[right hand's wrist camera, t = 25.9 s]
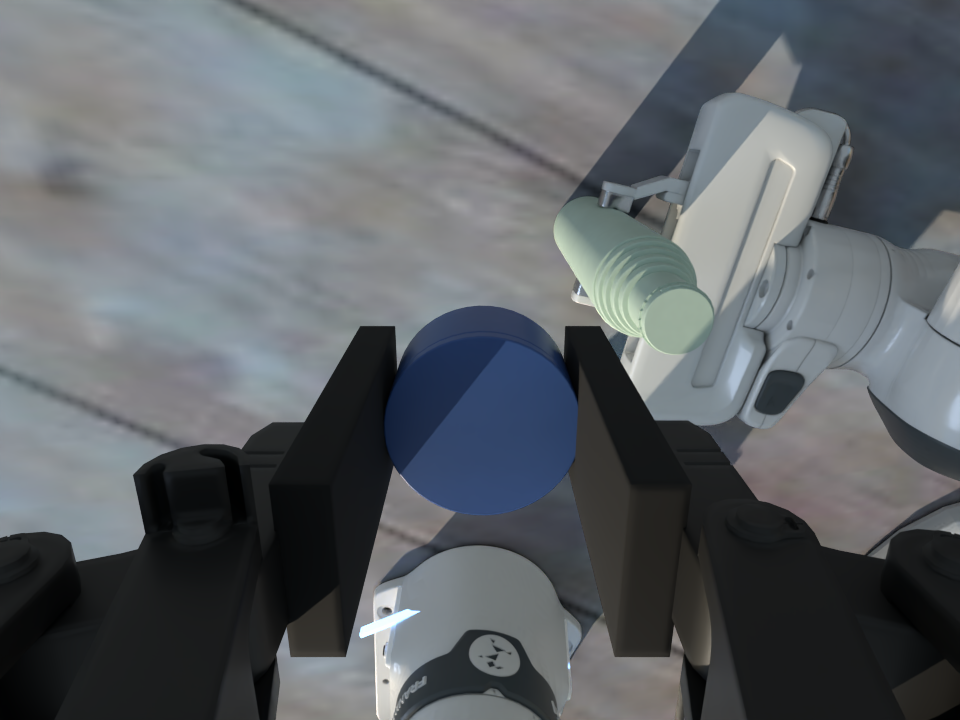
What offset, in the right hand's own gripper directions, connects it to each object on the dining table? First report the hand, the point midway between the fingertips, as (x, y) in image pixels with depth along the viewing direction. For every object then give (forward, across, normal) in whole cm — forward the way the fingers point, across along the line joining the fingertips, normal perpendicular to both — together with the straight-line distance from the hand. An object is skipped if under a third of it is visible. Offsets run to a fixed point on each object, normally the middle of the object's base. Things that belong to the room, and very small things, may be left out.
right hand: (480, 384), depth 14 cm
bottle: (+34, +8, -2) cm, 35 cm away
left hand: (+27, +7, -2) cm, 28 cm away
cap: (-2, 0, 0) cm, 2 cm away
